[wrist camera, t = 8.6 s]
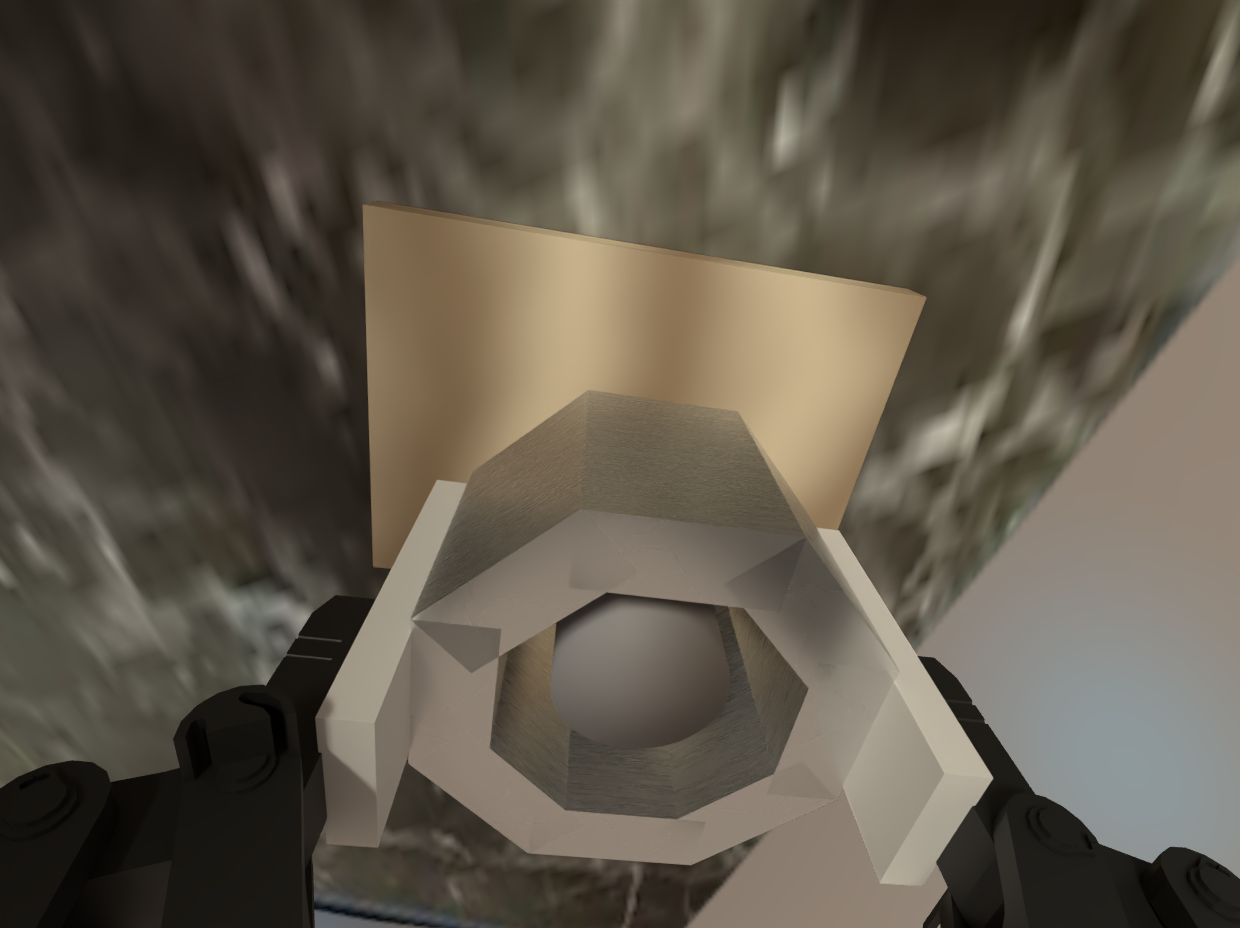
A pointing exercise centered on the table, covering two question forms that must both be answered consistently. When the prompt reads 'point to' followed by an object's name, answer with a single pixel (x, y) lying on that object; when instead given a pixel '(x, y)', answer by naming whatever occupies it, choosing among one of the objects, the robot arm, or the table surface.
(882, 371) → the post block
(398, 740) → the robot arm
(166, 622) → the table surface
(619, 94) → the table surface
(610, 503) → the ring
